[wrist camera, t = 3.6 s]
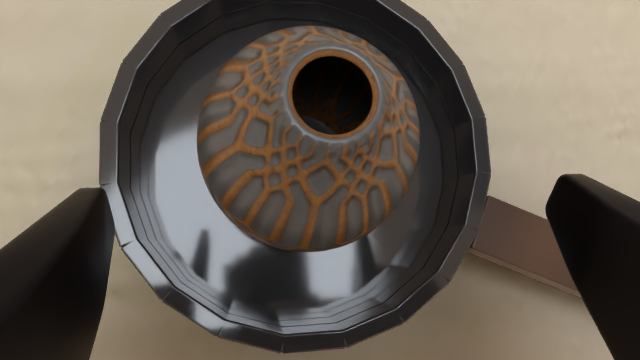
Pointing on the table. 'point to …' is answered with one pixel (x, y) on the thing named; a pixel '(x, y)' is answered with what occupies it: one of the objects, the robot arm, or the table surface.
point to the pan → (259, 258)
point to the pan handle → (521, 244)
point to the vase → (308, 138)
